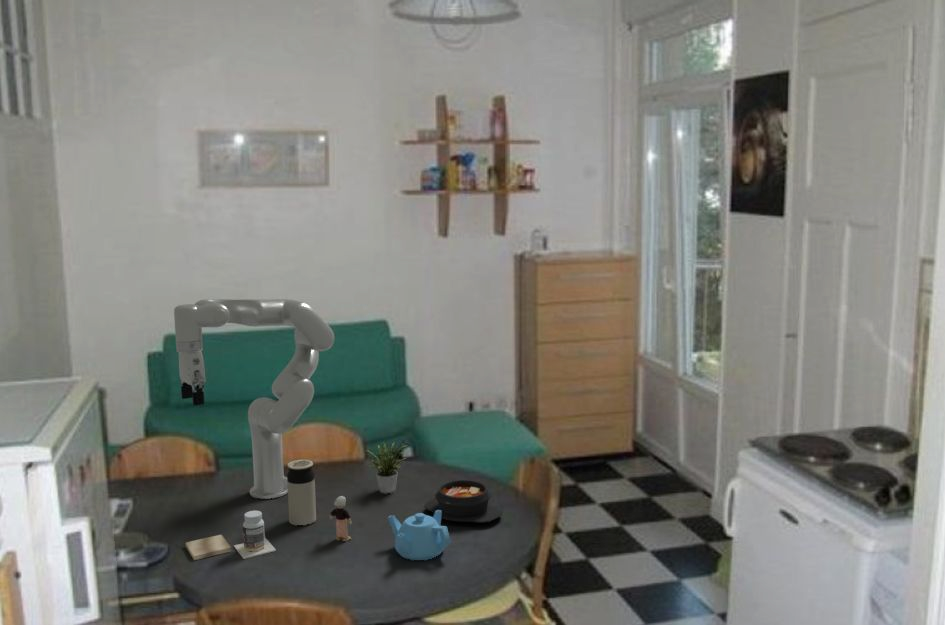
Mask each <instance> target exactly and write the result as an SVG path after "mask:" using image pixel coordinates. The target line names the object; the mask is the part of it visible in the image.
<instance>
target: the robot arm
mask: <svg viewBox="0 0 945 625" xmlns="http://www.w3.org/2000/svg"><path fill="white" fill-rule="evenodd" d="M173 316H174V331H175V332H174V334H175V346H176V347H175V348H176V352H177V353H178V372H179V379H180V391H181V399H182V400H186V399H191V398H192V405H193V406H200V405H204V404H205V391H204V390H205V389H204V387H205V385H204V384H205V383H206V382H207V381H206V379H207V378H206V369H205V361H204V356H203V352H202V351H203V350H204V347H203V346H204V345H203V329H202V328H221V327H223V326H225V325H226V324H237V325H241V326H247V327H275V326H276V327H281V326H282V327H283V326H287V327H292V328H295V329H294V335H293V336H294V344H295V351H294V354H293V356H292V358H291V359H290V361H289V363H288V364H286V366H285V367H284V368H283V370H282V371H281V372H280V373H279V375H278V376H277V377H276V378H275V380H273V383H272V386H271V392H272V394H273V396H274V397H275V398H277V399H278V400H275V399H273V398H270V397H258V398H256V399H254V400H253V401H252V402H251V403H250V404H249V407H248V411H247V419H248V424H249V429H250V434H251V435H250V436H251V445H252V446H251V447H252V448H251V449H252V464H253V465H252V466H253V467H252V468H253V486H252V487H251V488H250V489H249V495H250V496H251V497H252V498H255V499H258V498H259V500H270V499H271V498H272V499H276V498H280V497H283V496H285V495H286V494H287V495H288V485H287V476H285V474H284V471H285V470H284V458H283V457H284V456H283V455H284V454H283V452H284V450H283V437H282V434H283V433H286V432H287V431H288V430H289V429H291V428H292V427H293V425H294V424H295V423H296V422H297V421H298V420H299V418H300V417H301V416H302V414H303V413H304V411H305V410H306V409H307V408H308V407H309V405H310V404H311V402H312V401H313V398H314V394H315V387H314V386H315V385H314V383H313V382H312V381H311V380H310V379H311V378H312V375H314V373H315V371H316V370H317V367H318V365H319V361H320V360H319V358H320V353H319V352H325V351H328V350H329V349H331V348H332V347H333V345H334V343H335V333H334V331H333V329H332V327H330V325H328V323H327V322H325V320H324V319H323V318H322V317H321V316H320V315H319V313H317V312H316V311H315V310H314V308H312V306H310V305H309V304H307V303H306V302H303V301H300V300H294V299H288V298H286V299H284V298H282V299H247V298H246V299H230V298H229V299H228V298H227V299H225V298H224V299H223V298H222V299H220V298H219V299H200V300H197V302H195V303H194V304H193V303H191V304H186V303H185V304H180V305H177V306H175V308H174V309H173Z"/></svg>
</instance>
